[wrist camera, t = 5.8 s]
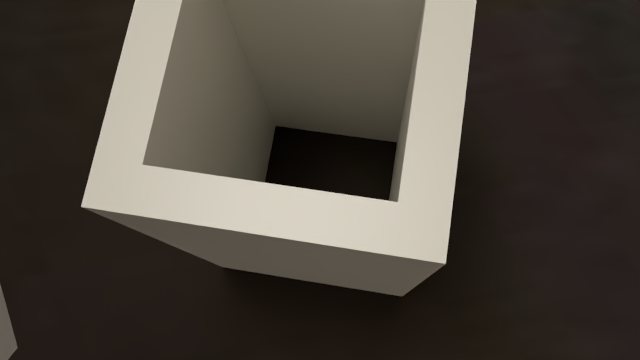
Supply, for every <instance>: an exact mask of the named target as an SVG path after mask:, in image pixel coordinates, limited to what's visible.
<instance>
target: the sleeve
mask: <svg viewBox="0 0 640 360" xmlns="http://www.w3.org/2000/svg"><path fill="white" fill-rule="evenodd" d="M475 8H476V0H135V3H134V7H133V11H132V15H131V19H130V22H129V26H128V30H127V34H126V38H125V41H124V45H123V49H122V53H121V57H120V60H119V64H118V68H117V72H116V76H115V79H114V83H113V87H112V91H111V95H110V98H109V102H108V106H107V110H106V114H105V117H104V121H103V125H102V129H101V133H100V136H99V140H98V144H97V148H96V152H95V155H94V159H93V163H92V167H91V171H90V175H89V178H88V182H87V186H86V190H85V194H84V197H83V201H82V205H81V207H83V208H85V209H87V210H90V211H92V212H94V213H97V214H99V215H102V216H104V217H106V218H109V219H111V220H113V221H116V222H118V223H120V224H123V225H125V226H127V227H130V228H132V229H134V230H137V231H139V232H141V233H144V234H146V235H149V236H151V237H153V238H156V239H158V240H160V241H163V242H165V243H167V244H170V245H172V246H174V247H177V248H179V249H181V250H184V251H186V252H188V253H191V254H193V255H195V256H198V257H200V258H203V259H205V260H207V261H210V262H212V263H214V264H217V265H219V266H221V267H225V268H231V269H237V270H243V271H249V272H256V273H262V274H268V275H274V276H280V277H286V278H292V279H298V280H304V281H310V282H317V283H323V284H329V285H335V286H341V287H347V288H353V289H359V290H365V291H372V292H378V293H384V294H390V295H396V296H404V295H405V294H406V293H408V292H409V291H410V290H412V289H413V288H414V287H416V286H417V285H418V284H420V283H421V282H422V281H424V280H425V279H426V278H428V277H429V276H430V275H432V274H433V273H434V272H436V271H437V270H438V269H440V268H441V267H442V266H444V265H445V264H446V258H447V249H448V240H449V232H450V223H451V214H452V206H453V197H454V189H455V180H456V171H457V163H458V154H459V146H460V137H461V128H462V120H463V111H464V103H465V94H466V85H467V77H468V68H469V60H470V51H471V42H472V34H473V25H474V17H475ZM276 126H280V127H287V128H294V129H302V130H309V131H316V132H324V133H331V134H338V135H346V136H353V137H360V138H368V139H375V140H382V141H390V142H397V147H396V154H395V161H394V168H393V175H392V182H391V189H390V196H389V201H387V200H380V199H373V198H366V197H359V196H353V195H346V194H339V193H332V192H325V191H319V190H312V189H305V188H298V187H291V186H285V185H278V184H271V183H265V179H266V174H267V169H268V163H269V158H270V153H271V148H272V143H273V137H274V132H275V127H276Z"/></svg>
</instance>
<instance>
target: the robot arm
mask: <svg viewBox="0 0 640 360" xmlns="http://www.w3.org/2000/svg"><path fill="white" fill-rule="evenodd" d="M16 349H17V344H16V340H15V337H14V333H13V329H12V325H11V322H10V318H9V314H8V311H7V307H6V303H5V300H4V296H3V292H2V289H1V285H0V360H8V359H9V358H10V356H11V355H12V354H13V353H14V351H15V350H16Z"/></svg>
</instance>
